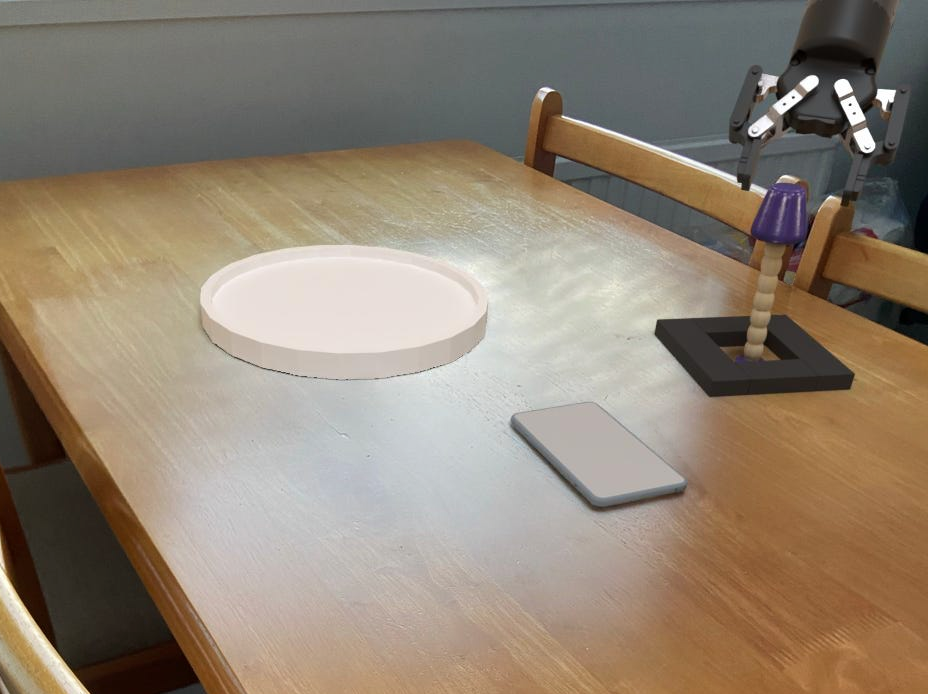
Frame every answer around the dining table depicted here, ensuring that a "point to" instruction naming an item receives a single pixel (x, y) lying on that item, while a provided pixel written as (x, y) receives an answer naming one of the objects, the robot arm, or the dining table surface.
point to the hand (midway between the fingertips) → (794, 193)
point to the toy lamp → (773, 254)
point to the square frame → (720, 376)
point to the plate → (344, 311)
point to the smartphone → (598, 454)
